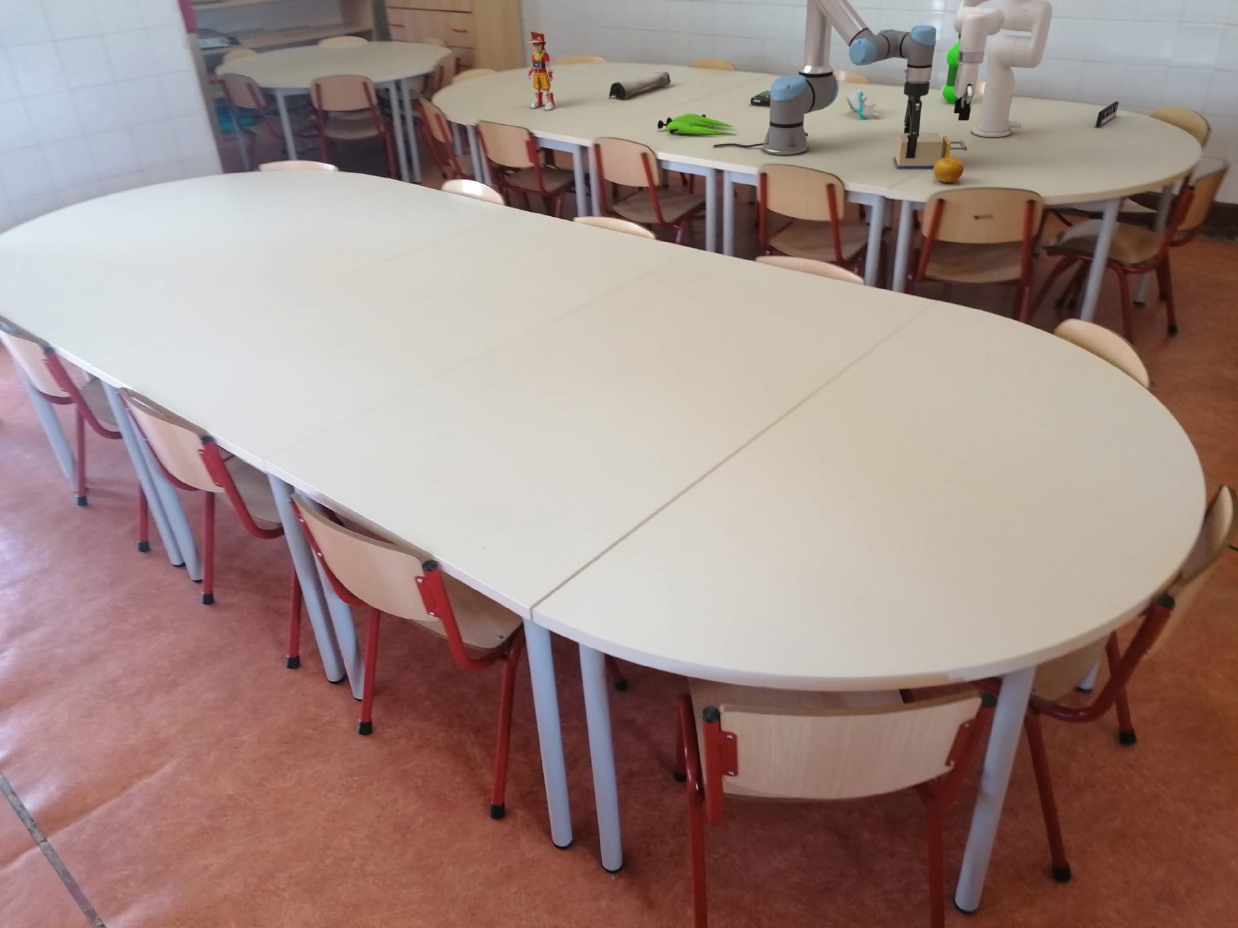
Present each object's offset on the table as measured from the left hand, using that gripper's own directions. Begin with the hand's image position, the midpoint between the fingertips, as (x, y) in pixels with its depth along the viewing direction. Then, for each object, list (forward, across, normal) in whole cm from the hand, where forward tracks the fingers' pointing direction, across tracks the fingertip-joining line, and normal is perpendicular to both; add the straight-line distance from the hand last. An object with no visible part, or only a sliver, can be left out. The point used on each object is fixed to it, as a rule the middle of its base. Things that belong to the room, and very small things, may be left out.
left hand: (908, 153), depth 292 cm
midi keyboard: (+4, -48, +74) cm, 88 cm away
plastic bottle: (+3, -81, +27) cm, 85 cm away
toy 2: (+3, -43, -71) cm, 83 cm away
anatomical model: (+3, -63, -10) cm, 64 cm away
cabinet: (+3, 0, +3) cm, 5 cm away
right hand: (-11, 0, +15) cm, 19 cm away
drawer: (+2, 0, +9) cm, 9 cm away
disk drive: (+3, -86, -46) cm, 98 cm away
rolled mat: (+3, -109, -102) cm, 149 cm away
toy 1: (+3, -84, -141) cm, 164 cm away
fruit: (+3, +19, +10) cm, 22 cm away
